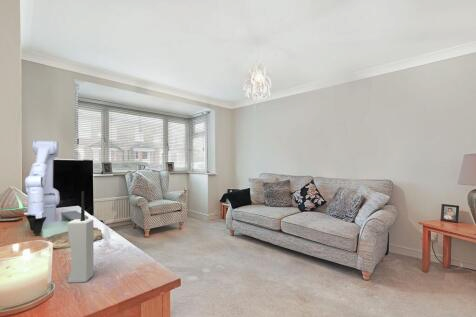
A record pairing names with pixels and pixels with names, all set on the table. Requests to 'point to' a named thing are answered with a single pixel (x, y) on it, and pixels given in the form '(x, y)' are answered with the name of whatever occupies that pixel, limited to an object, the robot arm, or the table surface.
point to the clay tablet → (63, 239)
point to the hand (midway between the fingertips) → (35, 231)
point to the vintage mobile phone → (81, 248)
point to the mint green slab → (54, 228)
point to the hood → (71, 216)
